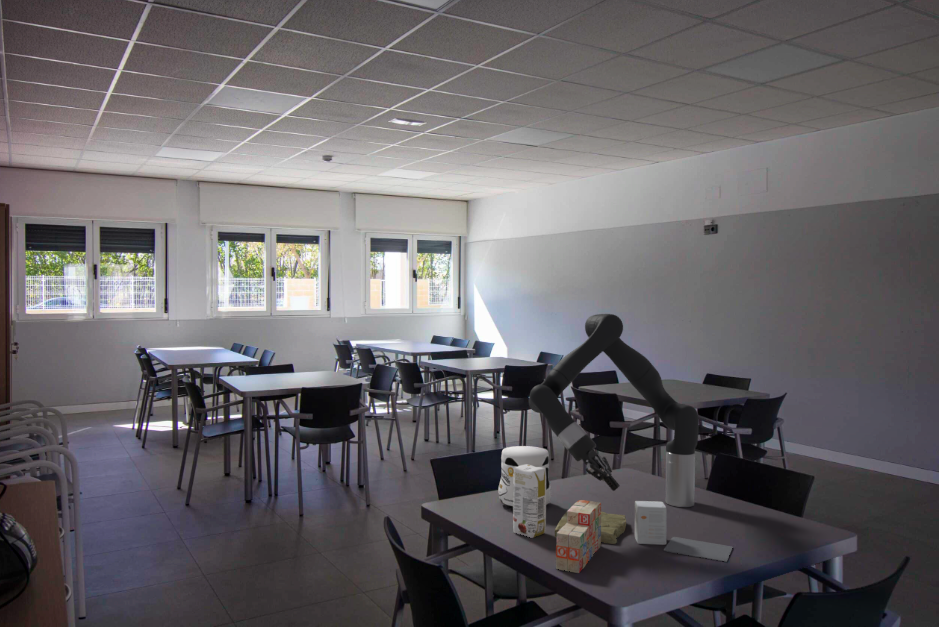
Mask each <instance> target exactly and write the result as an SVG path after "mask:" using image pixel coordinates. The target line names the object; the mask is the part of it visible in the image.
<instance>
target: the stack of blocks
mask: <svg viewBox="0 0 939 627" xmlns="http://www.w3.org/2000/svg"><path fill="white" fill-rule="evenodd" d="M567 510H568V511H566V512H567V523H566V524H565V525H564V526H563V527H562V528H561V529H560V530H559V531H558V532H557V537H556V546H555V570H558V569H559V571H564V570H565V572H569V571H570V573H575V574H580V573H581V571H582V570H583V569H584V568H585V567H586V566H587V565H588V563H589V562H590V560H592V558H593V556H594V555H595V554H596V553H597V552H598V550H599V549H600V548H601V547H600V546H602V545H601V544H602V543H601V512H602V502H600V501H594V500H593V501H592V500H583V499H579V500H577V501H576V502H575V503H573V505H571V507H570V508H569V509H567ZM595 552H596V553H595ZM594 553H595V554H594ZM593 554H594V555H593ZM591 557H592V558H591ZM588 561H589V562H588Z"/></svg>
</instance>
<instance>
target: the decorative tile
mask: <svg viewBox="0 0 939 627" xmlns="http://www.w3.org/2000/svg"><path fill="white" fill-rule="evenodd" d="M568 510H569V509H567V511H568ZM567 511H565V513H564V514H563V515H562V517H561V519H560V520H559V522H558V523H557V525H556V527H555V529H554V538H557V532H558V531H559V530H560V529H561V528H562V527H563V526H564V525H565V524H566V523H567ZM626 526H627V518H626V515H625V514H616V513H607V512H604V511H601V542H604V543H603V544H612V545H616V544H617V543H618V538H620V536H621V535H622V533H623V534H624V532H626ZM617 537H618V538H617ZM616 538H617V539H616Z"/></svg>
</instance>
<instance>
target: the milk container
mask: <svg viewBox="0 0 939 627" xmlns="http://www.w3.org/2000/svg"><path fill="white" fill-rule="evenodd" d="M500 459H501V463H500V464H501V465H500V466H501V468H500V469H501V473H500V474H501V475H500V476H501V477H500V481H499V483H498V484H499V485H498V488H497V489H498V498H499V501H500V502H501V504H503V505H504V506H506V507H508V508H511V509H513V476H514V468H515V467H518V466H521V465H525V464H528V465H532V466H534V467H542V468H546V506H547V505H549V504H550V502H551V499H552V487H551V483H550V478H549V477H550V472H549V470H550V464H549V462H550V456H549V450H547V449H546V448H543V447H537V446H531V445H530V446H529V445H528V446H527V445H517V446H516V445H514V446H508V447H504V448H503V449H502V451H501V457H500Z"/></svg>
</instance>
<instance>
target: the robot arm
mask: <svg viewBox="0 0 939 627" xmlns="http://www.w3.org/2000/svg"><path fill="white" fill-rule="evenodd" d="M584 331H585V333H586V336H587V339H586V340H585V341H584V342H582V343H581V344H580V345H579V346H577V347H576V348H575V349H573V350H572V351H571V352H570V353H567V354H566V355H565V356H563V358H562V359H560V360H559V361H558V362H557V364H555V366H554V367H553V368H551V370H550V371H549V372H548V374H547V376H546V377H545V379H544V381H543V382H542V383H541V384H537V385H535V386H534V387H532V389H531V390H530V393H529V397H528V405H529V408H530V409H531V410H532V412H535V413H538V414H542V416H544V418H545V419H546V423H547V425H548V427H549V429H550V430H551V431H552V432H553V434H555V436H556V437H557V438H558V439H559V441H560V443H561V444H562V446H564V448H565V449H566V450H567V452H569V454H570V455H571V456H572V457H573V458H574V460H575V461H577V462H581V461H582V462H583V463H584V465H585V466H586V468H585V471H586V472H587V473H588V474H589V475H591V476H592V477H594V478H595V479H597V480H598V481H602V482H605V484H607V486H608V487H609V488H610V490H612V491H613V492H614V491H616V490H617V489H618V488H620V483H619V482H618V481H617V480H616V479H615V478H614V477H613V475H612V473H613V470H612V468H611V465H610V464H609V461H608V460H607V458H606V457H605V456H601V455H600V454H599V453H598V452H596V451H595V448H596V447H597V444H596V442H595V441H594V440H593V439H592V437H590V435H589V434H588V433H587V432H586V431H585V429H583V428H582V426H580V424H578V422H577V421H575V420H574V418H573V417H572V416H571V415H570V413H568V412H567V410H566V409H565V408H564V406H563V404H562V402H561V400H560V399H559V397H560V395H561V394H562V393H563V392H564V391H565V390H566V389H567V388H568V387H569V386H570V385H571V383H573V381H574V380H575V379H577V376H578V375H580V374H581V372H582V371H584V369H585V368H586V367H588V365H590V363H592V361H594V360H595V359H596V358H597V357H598V356H599V355H601V354H602V353H604V354H605V355H606V356H607V357H608V358H609V359H610V361H611V362H612V363H613V364H614V365H615V367H617V369H618V370H619V371H620V372H621V374H623V376H624V377H625V378H626V380H627V381H628V382H629V383H630V384H631V385H632V386H633V387H634V389H636V391H637V392H638V393H639V394H640V395H641V396H642V397H643V399H644V400H645V401H646V402H647V403H648V404H649V405H650V406H651V408H652V410H653V411H654V412H655V413H656V416H658V419H660V421H661V423H662V424H663V425H664V426H665V427H666V428H667V429H669V430H672V431H674V433H673V434H674V435H673V439H672V440H669V441H668V442H666V444H665V447H666V448H665V502H664V503H665V504H667V505H670V506H673V507H676V508H677V507H678V508H690V507H694V506H695V488H696V486H695V484H696V483H695V480H696V479H695V478H696V475H695V474H696V471H695V470H696V469H695V468H696V462H695V461H696V459H695V458H696V448H697V445H698V442H699V427H700V426H699V425H700V420H699V419H700V418H699V413H698V411H697V410H696V407H695V408H694V407H693V406H691V405H688V404H685V403H679V402H677V401H676V400H675V399H674V398H673V397H671V395H670V394H669V393H668V392H667V390H666V389H665V387H664V384H663V380H662V377H661V375H660V373H659V371H658V370H657V369H656V367H655V366H654V365H653V363H651V361H650V360H649V359H648V358H647V357H646V356H645V355H643V353H641V352H639V351H638V350H636V349H634V348H633V347H632V346H630V345H628V344H627V343H625V342H624V341H623V340H622V339H621V338H620V337H621V336H622V335H623V331H624V324H623V321H622V319H621V318H620V317H619V316H618V315H616V314H611V313H599V314H598V313H597V314H593V315H591V316H588V318H587V319H586V320H585V324H584Z"/></svg>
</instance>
